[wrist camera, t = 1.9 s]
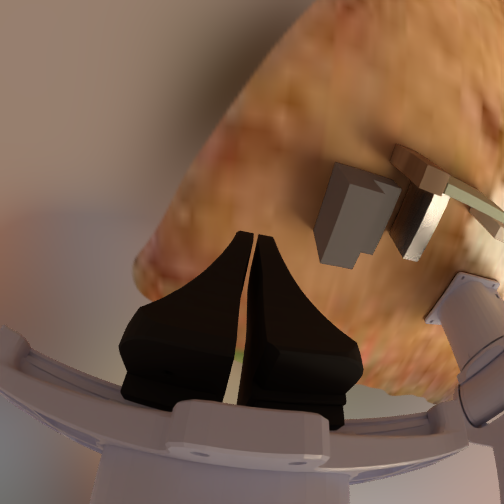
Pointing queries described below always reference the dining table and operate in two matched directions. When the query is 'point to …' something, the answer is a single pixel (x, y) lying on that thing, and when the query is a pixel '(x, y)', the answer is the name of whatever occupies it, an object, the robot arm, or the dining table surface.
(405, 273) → the dining table surface
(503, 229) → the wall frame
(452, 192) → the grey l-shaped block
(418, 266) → the dining table surface
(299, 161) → the dining table surface
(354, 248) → the block
